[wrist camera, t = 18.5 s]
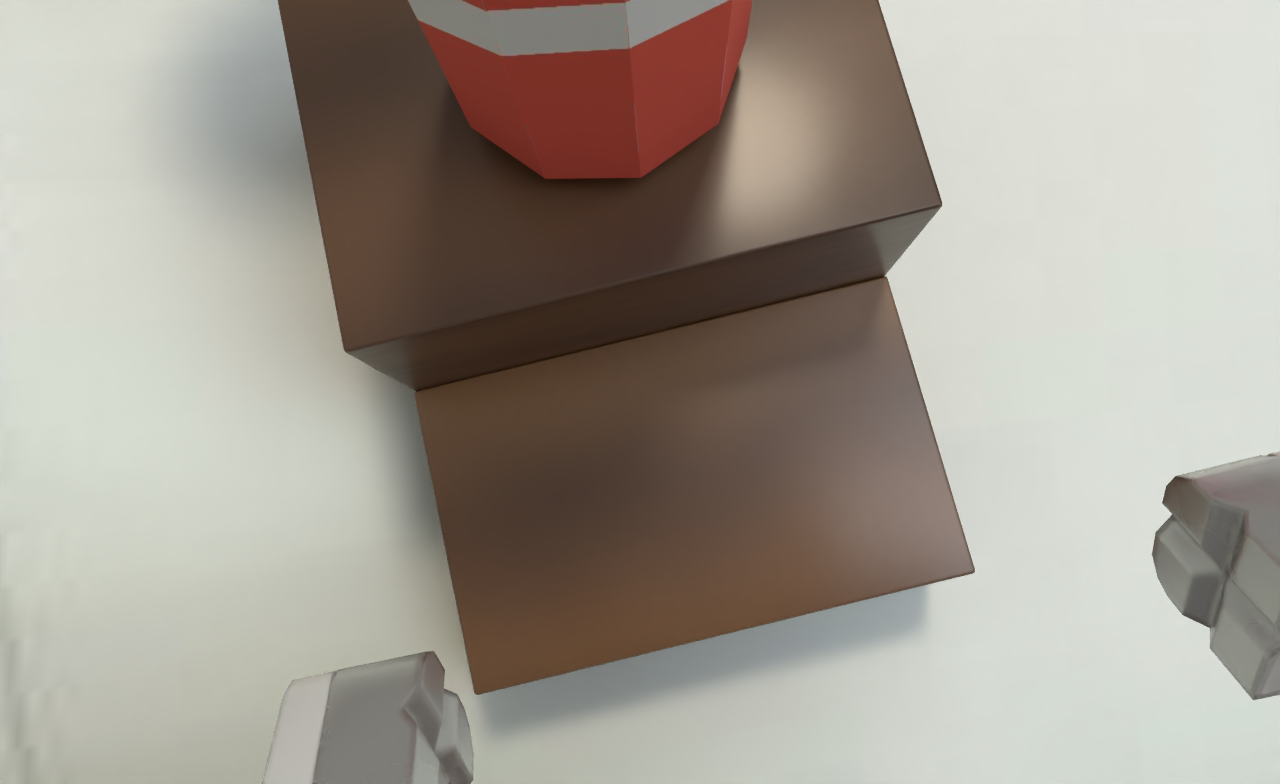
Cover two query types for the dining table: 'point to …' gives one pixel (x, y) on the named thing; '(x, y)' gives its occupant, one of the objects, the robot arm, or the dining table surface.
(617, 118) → the beverage can
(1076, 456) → the dining table surface
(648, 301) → the step shelf
